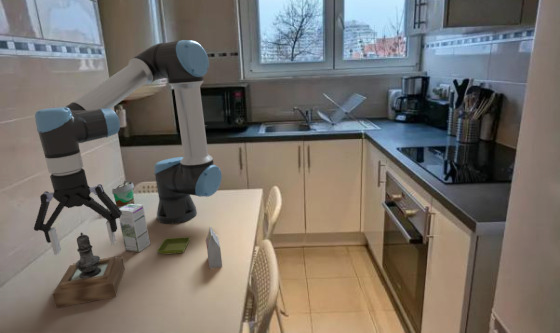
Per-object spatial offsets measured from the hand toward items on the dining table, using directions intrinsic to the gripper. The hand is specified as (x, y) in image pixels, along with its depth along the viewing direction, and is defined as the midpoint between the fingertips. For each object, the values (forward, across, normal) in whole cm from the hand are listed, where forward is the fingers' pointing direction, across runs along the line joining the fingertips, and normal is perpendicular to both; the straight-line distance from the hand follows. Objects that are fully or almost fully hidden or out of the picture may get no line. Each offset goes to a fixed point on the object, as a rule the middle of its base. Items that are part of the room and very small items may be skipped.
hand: (86, 247), depth 95 cm
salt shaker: (+8, 0, 0) cm, 8 cm away
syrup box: (+12, -8, -20) cm, 25 cm away
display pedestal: (+12, 0, 0) cm, 12 cm away
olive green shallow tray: (+13, -20, -15) cm, 28 cm away
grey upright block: (+12, -32, -2) cm, 35 cm away
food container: (+13, 0, -62) cm, 64 cm away
